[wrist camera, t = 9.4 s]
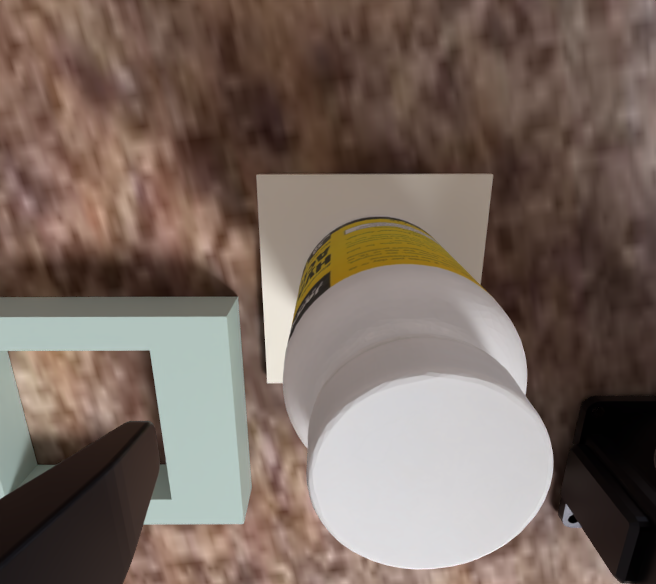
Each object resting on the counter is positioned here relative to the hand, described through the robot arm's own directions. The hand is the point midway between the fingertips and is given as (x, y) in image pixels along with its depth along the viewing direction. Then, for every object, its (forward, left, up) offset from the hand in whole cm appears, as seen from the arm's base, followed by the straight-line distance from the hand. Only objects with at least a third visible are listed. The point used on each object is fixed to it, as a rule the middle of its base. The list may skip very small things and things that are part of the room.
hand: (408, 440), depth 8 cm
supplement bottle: (0, 0, -9) cm, 9 cm away
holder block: (+11, +5, -9) cm, 15 cm away
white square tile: (0, 0, -9) cm, 9 cm away
